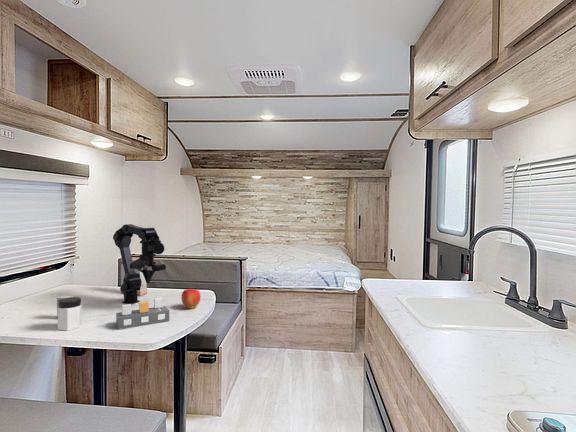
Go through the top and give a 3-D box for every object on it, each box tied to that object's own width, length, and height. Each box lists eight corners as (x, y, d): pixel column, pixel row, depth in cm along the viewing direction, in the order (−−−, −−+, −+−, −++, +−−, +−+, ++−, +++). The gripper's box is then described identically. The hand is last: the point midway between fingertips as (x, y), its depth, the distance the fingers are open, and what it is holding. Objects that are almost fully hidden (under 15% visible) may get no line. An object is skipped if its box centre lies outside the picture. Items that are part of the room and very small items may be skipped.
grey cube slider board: (116, 323, 153) (116, 312, 153) (165, 316, 164) (165, 305, 164) (118, 329, 146) (118, 317, 146) (169, 321, 157) (169, 310, 157)
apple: (200, 310, 174) (200, 290, 174) (180, 311, 172) (180, 291, 172) (200, 304, 183) (200, 286, 183) (182, 305, 181) (182, 286, 181)
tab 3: (154, 307, 160) (154, 298, 160) (161, 306, 162) (161, 297, 162) (154, 308, 159) (154, 299, 158) (162, 307, 161) (162, 298, 160)
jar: (78, 322, 154) (78, 295, 153) (85, 326, 149) (85, 299, 148) (54, 327, 147) (54, 299, 147) (61, 332, 142) (61, 303, 141)
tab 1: (121, 314, 150) (121, 305, 149) (130, 312, 152) (130, 303, 151) (122, 315, 148) (122, 306, 148) (131, 314, 150) (131, 304, 150)
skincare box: (74, 317, 161) (74, 295, 161) (66, 320, 157) (66, 298, 156) (64, 316, 162) (64, 295, 161) (56, 319, 157) (56, 297, 157)
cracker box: (147, 293, 203) (147, 258, 203) (139, 296, 198) (139, 260, 197) (128, 291, 208) (128, 257, 207) (120, 293, 202) (120, 258, 201)
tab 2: (139, 311, 153) (139, 302, 153) (147, 310, 155) (147, 301, 155) (140, 312, 152) (140, 303, 152) (148, 311, 154) (148, 302, 153)
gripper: (120, 253, 171) (121, 284, 171) (150, 255, 164) (150, 288, 164) (138, 250, 181) (138, 280, 181) (166, 252, 174) (166, 283, 174)
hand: (147, 283), depth 175 cm, fingers closed
